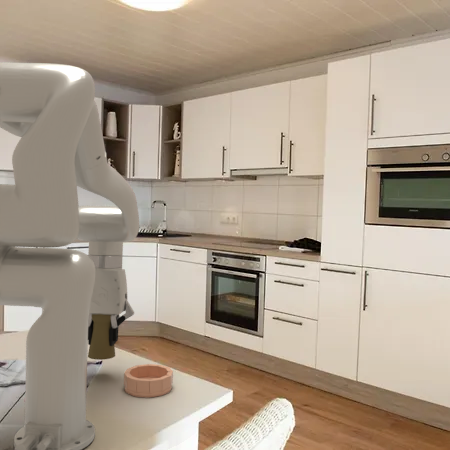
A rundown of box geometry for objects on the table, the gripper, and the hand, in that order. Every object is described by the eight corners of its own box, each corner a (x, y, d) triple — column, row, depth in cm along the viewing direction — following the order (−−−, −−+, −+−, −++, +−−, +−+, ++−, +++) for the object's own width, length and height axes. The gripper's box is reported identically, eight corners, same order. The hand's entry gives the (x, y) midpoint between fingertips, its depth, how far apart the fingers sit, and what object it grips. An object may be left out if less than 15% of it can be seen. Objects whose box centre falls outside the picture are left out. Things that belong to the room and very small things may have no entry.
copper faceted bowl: (166, 399, 96) (167, 382, 96) (118, 395, 97) (119, 379, 97) (175, 381, 106) (176, 365, 106) (131, 378, 107) (132, 363, 107)
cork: (81, 356, 106) (83, 307, 106) (100, 350, 111) (102, 304, 111) (102, 361, 103) (104, 310, 103) (121, 355, 108) (122, 306, 108)
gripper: (62, 262, 104) (59, 346, 104) (137, 265, 103) (134, 350, 103) (75, 260, 111) (72, 338, 111) (145, 263, 110) (142, 342, 110)
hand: (102, 343), depth 107 cm, fingers closed on cork, 4 cm apart
